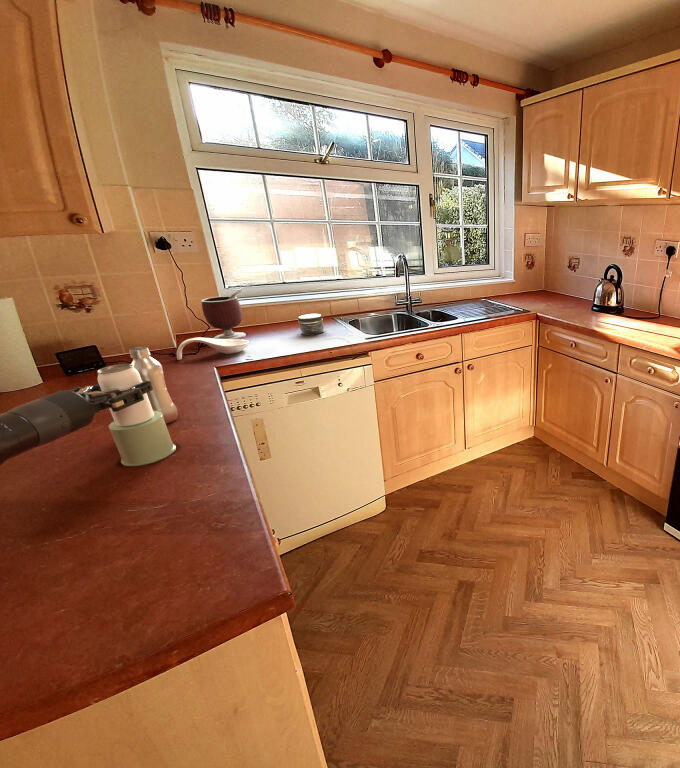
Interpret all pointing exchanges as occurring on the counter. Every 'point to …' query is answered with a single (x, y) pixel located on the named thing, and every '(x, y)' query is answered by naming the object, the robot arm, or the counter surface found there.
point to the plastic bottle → (154, 382)
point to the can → (121, 379)
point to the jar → (311, 324)
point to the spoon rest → (217, 345)
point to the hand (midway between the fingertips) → (131, 384)
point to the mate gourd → (224, 315)
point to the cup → (143, 441)
